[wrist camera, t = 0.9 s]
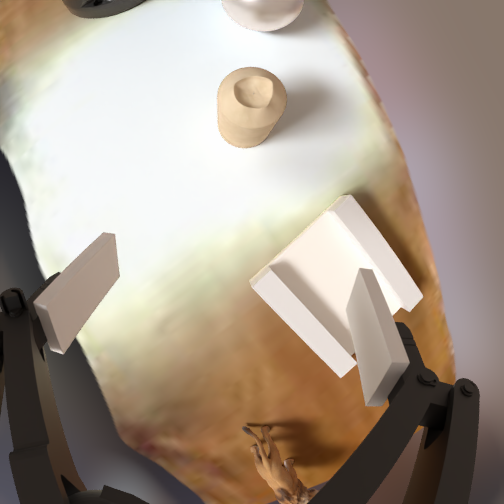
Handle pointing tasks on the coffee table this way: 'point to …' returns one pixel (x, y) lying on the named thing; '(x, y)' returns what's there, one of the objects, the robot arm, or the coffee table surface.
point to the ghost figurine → (263, 13)
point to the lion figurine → (279, 472)
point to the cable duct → (332, 279)
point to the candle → (249, 106)
